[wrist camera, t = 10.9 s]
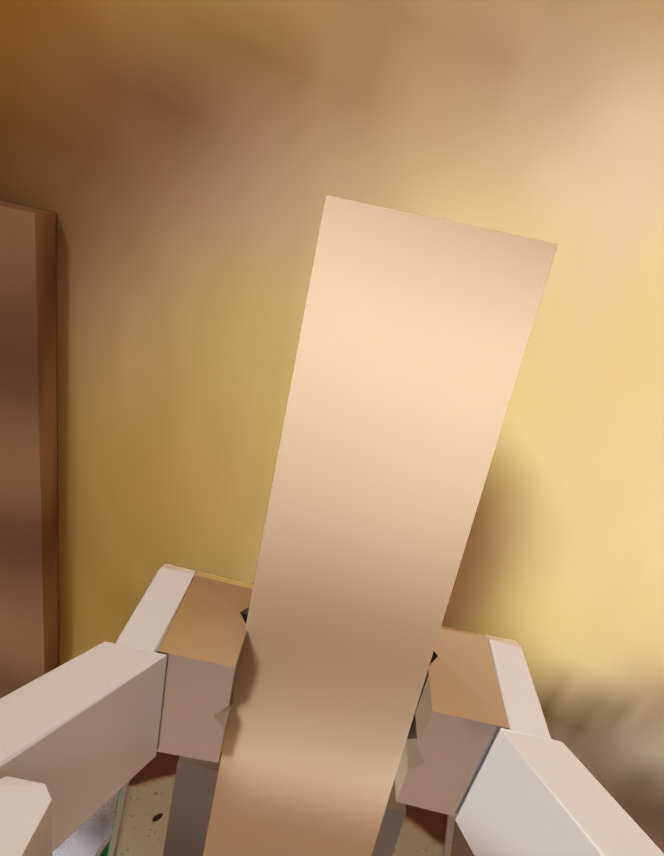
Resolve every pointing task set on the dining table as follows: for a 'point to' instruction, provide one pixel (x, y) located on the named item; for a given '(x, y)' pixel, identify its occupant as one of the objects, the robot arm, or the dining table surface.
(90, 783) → the robot arm
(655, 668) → the dining table surface
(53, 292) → the wooden board
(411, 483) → the turner
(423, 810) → the food container
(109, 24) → the dining table surface
